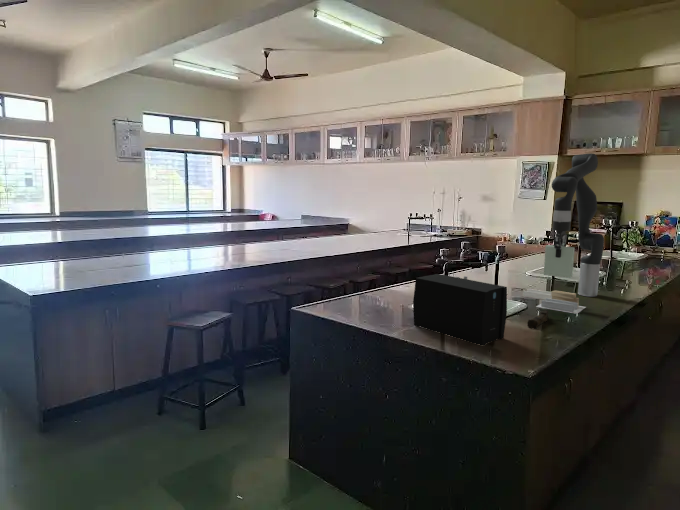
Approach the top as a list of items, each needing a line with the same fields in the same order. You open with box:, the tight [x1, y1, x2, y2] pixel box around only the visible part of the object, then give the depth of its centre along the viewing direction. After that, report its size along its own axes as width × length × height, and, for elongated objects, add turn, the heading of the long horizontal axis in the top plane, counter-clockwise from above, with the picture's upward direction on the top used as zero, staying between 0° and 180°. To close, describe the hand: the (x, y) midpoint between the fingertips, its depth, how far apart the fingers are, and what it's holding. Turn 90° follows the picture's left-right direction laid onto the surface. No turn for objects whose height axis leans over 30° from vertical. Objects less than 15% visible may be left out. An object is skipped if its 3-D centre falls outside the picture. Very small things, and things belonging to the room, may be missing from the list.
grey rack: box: [535, 298, 587, 315], centre depth 221 cm, size 16×18×4 cm
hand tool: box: [527, 309, 549, 329], centre depth 197 cm, size 19×4×5 cm, turn 137°
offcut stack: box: [550, 289, 580, 306], centre depth 224 cm, size 4×12×6 cm, turn 49°
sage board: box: [543, 244, 575, 279], centre depth 221 cm, size 3×12×14 cm, turn 50°
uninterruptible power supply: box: [412, 273, 508, 346], centre depth 184 cm, size 16×34×20 cm, turn 40°
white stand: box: [522, 288, 552, 301], centre depth 239 cm, size 7×14×4 cm, turn 49°
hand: (559, 256), depth 220 cm, fingers closed on sage board, 3 cm apart
